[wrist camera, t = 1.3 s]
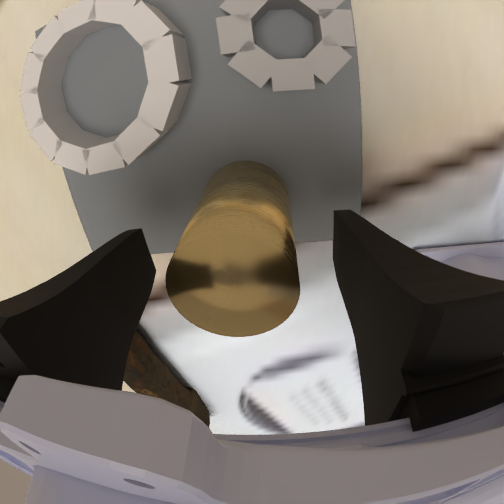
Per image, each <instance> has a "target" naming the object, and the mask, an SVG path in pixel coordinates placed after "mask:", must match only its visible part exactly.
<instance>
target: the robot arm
mask: <svg viewBox="0 0 504 504" xmlns="http://www.w3.org/2000/svg"><path fill="white" fill-rule="evenodd" d="M426 255H427V256H426ZM333 262H334V267H335V272H336V277H337V282H338V285H339V288H340V291H341V294H342V297H343V300H344V303H345V306H346V310H347V313H348V316H349V319H350V322H351V325H352V329H353V333H354V337H355V342H356V348H357V354H358V360H359V368H360V375H361V383H362V392H363V402H364V415H365V426H361V427H355V428H347V429H339V430H331V431H321V432H310V433H296V434H274V435H225V434H213V433H212V432H211V430H210V429H209V428H208V427H207V425H206V424H205V423H203V422H202V421H201V420H200V419H199V418H198V417H196V416H195V415H194V414H193V413H192V412H191V411H189V410H187V409H184V408H182V407H180V406H177V405H175V404H173V403H170V402H168V401H166V400H164V399H160V398H156V397H151V396H147V395H142V394H138V393H134V392H127V391H122V384H123V378H124V372H125V367H126V362H127V358H128V354H129V350H130V346H131V342H132V339H133V336H134V334H135V331H136V329H137V326H138V323H139V321H140V318H141V316H142V314H143V311H144V309H145V306H146V304H147V301H148V299H149V296H150V293H151V290H152V287H153V283H154V278H155V274H156V269H155V266H154V263H153V260H152V257H151V254H150V252H149V249H148V246H147V243H146V240H145V237H144V233H143V230H142V228H139V229H131V230H127V231H125V232H123V233H121V234H119V235H117V236H116V237H114V238H113V239H111V240H109V241H108V242H106V243H105V244H104V245H102V246H101V247H99V248H98V249H96V250H95V251H93V252H92V253H91V254H89V255H88V256H86V257H85V258H83V259H82V260H80V261H79V262H77V263H76V264H74V265H73V266H71V267H70V268H68V269H67V270H65V271H63V272H62V273H60V274H58V275H56V276H55V277H53V278H51V279H50V280H48V281H46V282H44V283H42V284H40V285H38V286H36V287H34V288H32V289H30V290H28V291H26V292H23V293H21V294H19V295H16V296H14V297H11V298H9V299H6V300H3V301H1V302H0V459H2V460H4V461H5V462H7V463H9V464H10V465H12V466H14V467H15V468H17V469H19V470H21V471H23V472H24V473H26V474H28V475H30V476H32V479H31V482H30V485H29V489H28V492H27V495H26V499H25V503H24V504H504V242H495V243H484V244H473V245H462V246H451V247H439V248H427V249H417V250H413V249H411V248H409V247H407V246H406V245H404V244H402V243H400V242H399V241H397V240H396V239H394V238H392V237H391V236H389V235H387V234H386V233H384V232H383V231H381V230H380V229H378V228H377V227H376V226H374V225H373V224H371V223H370V222H368V221H367V220H366V219H364V218H363V217H361V216H360V215H358V214H357V213H355V212H354V211H352V210H350V209H349V210H334V222H333Z"/></svg>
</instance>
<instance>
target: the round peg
mask: <svg viewBox="0 0 504 504" xmlns="http://www.w3.org/2000/svg"><path fill="white" fill-rule="evenodd" d="M166 289H167V292H168V295H169V297H170V300H171V302H172V303H173V305H174V306H175V308H176V309H177V310H178V311H179V313H180V314H181V315H182V316H183V317H184V318H186V319H187V320H188V321H190V322H191V323H193V324H194V325H196V326H198V327H199V328H201V329H204V330H206V331H209V332H211V333H215V334H218V335H224V336H231V337H245V336H253V335H258V334H261V333H265V332H267V331H270V330H272V329H274V328H276V327H277V326H279V325H280V324H282V323H283V322H284V321H285V320H286V319H287V318H288V317H289V316H290V315H291V314H292V312H293V311H294V309H295V307H296V305H297V303H298V300H299V295H300V283H299V274H298V265H297V257H296V248H295V240H294V232H293V224H292V216H291V209H290V201H289V194H288V190H287V187H286V185H285V183H284V181H283V180H282V178H281V177H280V176H279V175H278V174H277V173H276V172H275V171H274V170H273V169H271V168H270V167H268V166H266V165H264V164H262V163H259V162H254V161H237V162H233V163H230V164H227V165H225V166H223V167H222V168H220V169H219V170H218V171H217V172H216V173H215V174H214V175H213V176H212V177H211V179H210V180H209V182H208V184H207V186H206V188H205V190H204V192H203V194H202V196H201V198H200V200H199V202H198V204H197V206H196V208H195V210H194V212H193V214H192V216H191V218H190V220H189V222H188V224H187V226H186V228H185V231H184V233H183V235H182V237H181V239H180V241H179V243H178V245H177V248H176V250H175V252H174V254H173V256H172V258H171V261H170V263H169V265H168V268H167V272H166Z"/></svg>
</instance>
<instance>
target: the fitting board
mask: <svg viewBox="0 0 504 504" xmlns="http://www.w3.org/2000/svg"><path fill="white" fill-rule="evenodd" d="M35 33H36V40H35V42H34V43H33V45H32V46H31V47H30V49H31V51H32V52H28V54H27V58H26V63H25V67H24V71H23V76H22V81H21V86H20V91H23V92H24V93H22V94H21V95H20V100H21V105H22V109H23V114H24V119H25V123H26V127H27V131H29V130H31V129H32V131H31V132H30V134H29V135H30V136H31V137H32V139H33V140H34V141H35V142H36V144H37V145H38V146H39V147H40V149H41V150H42V151H43V152H44V154H45V155H46V156H47V157H48V158H49V160H50V161H52V160H54V164H57V165H60V166H62V167H63V170H64V174H65V177H66V180H67V183H68V186H69V189H70V192H71V195H72V198H73V201H74V204H75V207H76V210H77V212H78V215H79V218H80V221H81V223H82V226H83V229H84V231H85V234H86V236H87V239H88V241H89V244H90V246H91V249H92V251H95V250H96V249H98V248H99V247H101V246H102V245H104V244H105V243H106V242H108V241H109V240H111V239H113V238H114V237H116V236H117V235H119V234H121V233H123V232H125V231H127V230H131V229H139V228H142V230H143V233H144V237H145V240H146V243H147V246H148V249H149V252H150V254H157V253H170V252H175V250H176V248H177V245H178V243H179V241H180V239H181V237H182V235H183V233H184V231H185V228H186V226H187V224H188V222H189V220H190V218H191V216H192V214H193V212H194V210H195V208H196V206H197V204H198V202H199V200H200V198H201V196H202V194H203V192H204V190H205V188H206V186H207V184H208V182H209V180H210V179H211V177H212V176H213V175H214V174H215V173H216V172H217V171H218V170H219V169H220V168H222V167H223V166H225V165H227V164H230V163H233V162H237V161H254V162H259V163H262V164H264V165H266V166H268V167H270V168H271V169H273V170H274V171H275V172H276V173H277V174H278V175H279V176H280V177H281V178H282V180H283V181H284V183H285V185H286V187H287V190H288V194H289V201H290V209H291V216H292V224H293V232H294V240H295V243H300V242H314V241H328V240H333V222H334V210H349V209H350V210H352V211H354V212H355V213H357V214H358V215H360V216H361V193H362V122H361V98H360V82H359V68H358V57H357V47H356V38H355V29H354V21H353V14H352V7H351V0H81V1H79V2H77V3H75V4H73V5H71V6H69V7H67V8H66V9H64V10H62V11H60V12H58V16H53V18H52V19H51V20H50V22H49V23H48V24H47V25H45V26H44V27H42V28H40V29H39V30H37V31H35Z"/></svg>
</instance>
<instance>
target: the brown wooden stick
mask: <svg viewBox="0 0 504 504" xmlns="http://www.w3.org/2000/svg"><path fill="white" fill-rule="evenodd" d="M123 381H125V383H126V384H127V385H128V386H129V387H130V388H131V389H133V390H134V391H135V392H136V393H138V394H142V395H147V396H151V397H156V398H160V399H164V400H166V401H168V402H170V403H173V404H175V405H177V406H180V407H182V408H184V409H187V410H189V411H191V412H192V413H193V414H194V415H195V416H196V417H198V418H199V419H200V420H201V421H202V422H203V423H205V424H206V425H207V427H208V428H209V424H210V417H209V413H208V411H207V409H206V406H205V404H204V403H203V402H202V401H201V399H200V398H199V396H198V394H197V393H196V391H195V390H194V389H192V388H187V387H184V386H183V385H182V384H181V383H180V382H179V381H178V379H177V378H176V377H175V376H174V375H173V374H172V372H171V371H170V370H169V368H168V366H166V365H165V364H164V363H163V362H162V361H161V360H160V359H159V358H158V357H157V356H156V355H155V354H154V352H153V351H152V350H151V349H150V347H149V346H148V344H147V343H146V342H145V340H144V339H143V338H142V337H141V335H140V334H139V333H138V332H137V331H135V334H134V336H133V339H132V342H131V346H130V350H129V354H128V358H127V362H126V367H125V372H124V378H123Z"/></svg>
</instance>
